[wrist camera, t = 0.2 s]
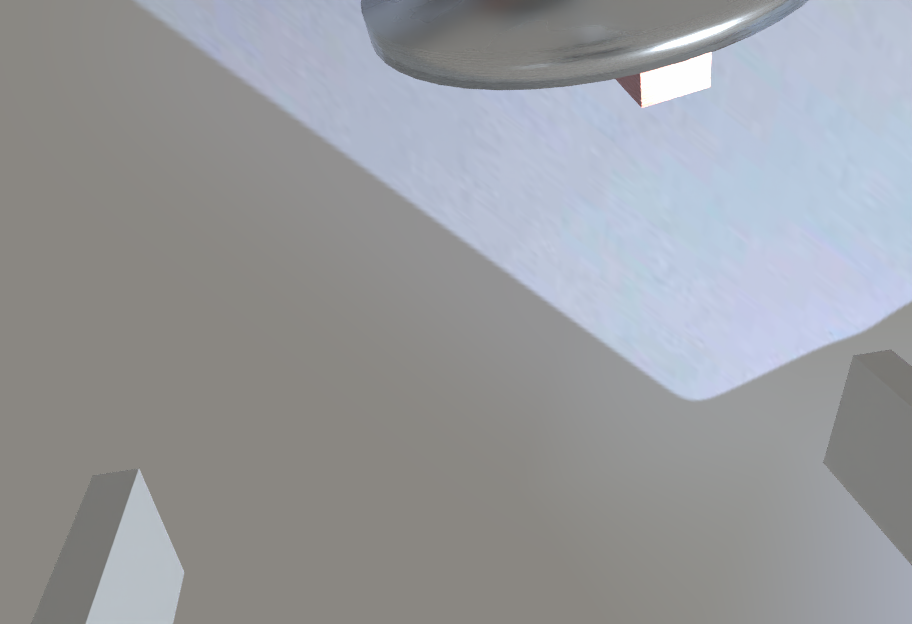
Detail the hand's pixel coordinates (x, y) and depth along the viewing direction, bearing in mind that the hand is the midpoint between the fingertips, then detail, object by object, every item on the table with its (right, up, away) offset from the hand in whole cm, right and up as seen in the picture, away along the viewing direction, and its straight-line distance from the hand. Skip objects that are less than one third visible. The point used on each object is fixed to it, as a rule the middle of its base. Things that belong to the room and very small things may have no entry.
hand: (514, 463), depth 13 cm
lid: (+2, +15, +8) cm, 17 cm away
